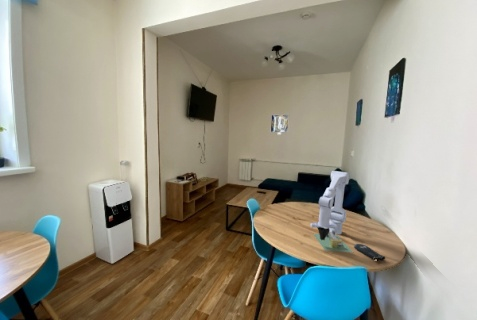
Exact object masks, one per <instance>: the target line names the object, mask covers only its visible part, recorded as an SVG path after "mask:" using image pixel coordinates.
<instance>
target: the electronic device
mask: <svg viewBox="0 0 477 320" xmlns="http://www.w3.org/2000/svg"><path fill="white" fill-rule="evenodd" d="M353 248H354V249H355V250H356V251H357V252H359V253H360V254H363V255H364V256H366V257H368V258H369V259H371V260H372V261H374V260H375V259H377V262H380V261H385V260H386V256H385V255H382V254H381V253H378V252H377V251H375V250H374V249H372V248H371V247H370V246H368V245H366V244H363V243H355V244H354V245H353ZM374 258H375V259H374Z"/></svg>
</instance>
